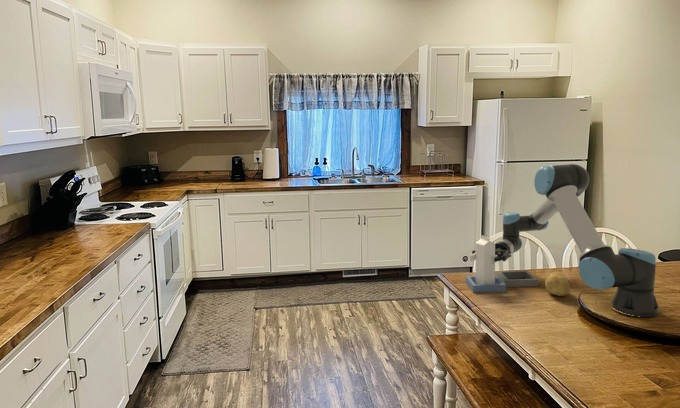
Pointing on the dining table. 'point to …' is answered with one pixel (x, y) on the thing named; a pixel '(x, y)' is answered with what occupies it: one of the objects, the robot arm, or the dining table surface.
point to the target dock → (486, 285)
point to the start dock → (528, 281)
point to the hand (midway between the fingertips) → (480, 259)
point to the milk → (485, 261)
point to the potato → (557, 284)
